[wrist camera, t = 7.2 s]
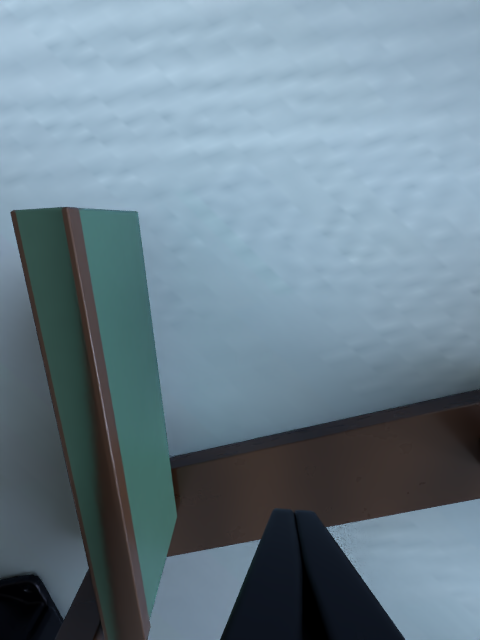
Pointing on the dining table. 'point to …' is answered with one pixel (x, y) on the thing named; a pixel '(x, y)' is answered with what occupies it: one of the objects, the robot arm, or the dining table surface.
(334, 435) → the gate frame
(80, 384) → the door
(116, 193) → the dining table surface
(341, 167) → the dining table surface
